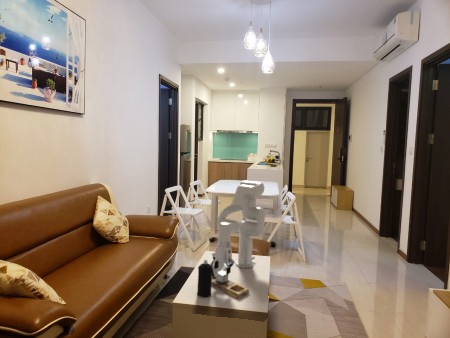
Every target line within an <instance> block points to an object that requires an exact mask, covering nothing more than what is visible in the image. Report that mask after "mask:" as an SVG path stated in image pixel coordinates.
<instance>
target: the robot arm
mask: <svg viewBox="0 0 450 338" xmlns="http://www.w3.org/2000/svg"><path fill="white" fill-rule="evenodd" d="M264 192H265V185H264V183H263V182H260V181H253V180H252V181H251V180H241V182H239V185H238V186H237V187H236V190H235V192H234V195H233V197H232V200H231V203H230V204H229V205H227V206H226V207H224V208H223V210H221V211H220V213H219V216H218V219H217V223H216V227H217V230H218V233H217V244H216V247H215V252H213V253H211V256H212V261H213V260H214V262H215V263H214V269H217V268H218V267H219V261H220V262H222V263H224V265H225V264H226V265H225V266H226V271H225V272H226V274H228V275H229V274H230V273H231V272H232V271H231V269H232V267H233V266H234V264H235V266H237V267H239V268H243V269H248V268H249V269H250V268H252V267H254V263H253V260H255V259H256V258H255V256H253V237H257V238H261V237H262V236H263V235H264V229H265V221H266V210H265V209H264V208H263V207H261V206H256V203H257V199H258V198H259V197H261V196H262V195H263V193H264ZM240 211H242V218H244V219H246V220H241V221H240V222H239V221H236V220H233V219H229V218H227V217H228V216H229V215H231V214H234V213H236V212H240ZM236 233H238V235H239V236H238V237H239V238H238V253H237V254H238V255H237V259H238V260H236V261H235V260H234V259H233V251H232V250H233V249H232V243H231V238H232V237H231V236H232V234H236Z"/></svg>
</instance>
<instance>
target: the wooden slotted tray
mask: <svg viewBox="0 0 450 338" xmlns="http://www.w3.org/2000/svg"><path fill="white" fill-rule="evenodd" d="M211 287H213V288H216V289H218V290H220V291H222V292H224V293H226V294H228V295H230V296H232V297H234V298H236V299H238V300H240V299H241V298H243V297H245V296H247V295H248V294H250V293H249V292H250V289H249V288H247V287H245V286H242V285H241V284H238V283H236V282H234V281H231V280H229V279H228V283H226V284H224V285H221V284H219V283H217V282H216V278H213V279H212V282H211ZM235 290H238V292H237V291H235Z"/></svg>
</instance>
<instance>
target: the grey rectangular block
mask: <svg viewBox="0 0 450 338" xmlns="http://www.w3.org/2000/svg"><path fill="white" fill-rule="evenodd" d="M215 279H216V282H217V283H219V284H221V285H224V284H226V283H228V280H229V274H226V271H220V272H217V276H216V277H215Z"/></svg>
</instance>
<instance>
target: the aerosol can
mask: <svg viewBox="0 0 450 338" xmlns="http://www.w3.org/2000/svg"><path fill="white" fill-rule="evenodd" d="M197 268H198V271H197V272H198V273H197V274H198V276H197V292H196V295H197V296H198V297H199V298H210V296H212V285H211V282H212V280H213V279H212V278H213V277H212V269H213V267H212V266H211V265H210V263H209V262H208V259H204V260H203V262H202V263H200V264H199V265H198V267H197Z"/></svg>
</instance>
